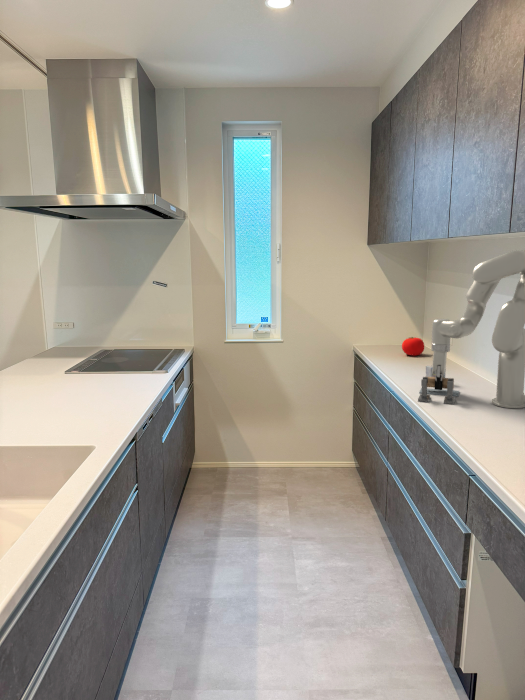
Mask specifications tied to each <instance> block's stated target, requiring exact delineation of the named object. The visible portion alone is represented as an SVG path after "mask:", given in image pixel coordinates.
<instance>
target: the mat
mask: <svg viewBox="0 0 525 700" xmlns="http://www.w3.org/2000/svg"><path fill="white" fill-rule="evenodd" d="M418 394H419V395H420V394H422V387H420V390H419V391H418ZM427 395H437V396H447V389H444V388H442V390H435V388H430V387H427ZM459 395H460V390H454V389H453V397H459Z"/></svg>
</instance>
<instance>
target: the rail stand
mask: <svg viewBox="0 0 525 700" xmlns="http://www.w3.org/2000/svg"><path fill="white" fill-rule="evenodd" d="M447 378H448V381H447V389H446V390H447V396H446V395H444V399H443V404H444V405H445V404H446V405H455V403H456V396H453V390H454V387H453V379H449V378H450V377H447ZM420 381H421V388H422V394H420V393H419V396H418V398H417V402H420V403H421V402H422V403H429V401H430V399H431V394H427V388H428V387H427V384H428V377H426V376H422V379H421V380H420Z"/></svg>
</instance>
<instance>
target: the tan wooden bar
mask: <svg viewBox="0 0 525 700" xmlns="http://www.w3.org/2000/svg"><path fill="white" fill-rule="evenodd" d="M448 378H449V379H453V388H454V386H455V385H454V383H455V379H454V378H451V377H445V378H442V381H443V387H442V389H445V390H447V381H448ZM427 388H432V389H435V377H428V384H427Z"/></svg>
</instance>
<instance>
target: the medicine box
mask: <svg viewBox="0 0 525 700" xmlns="http://www.w3.org/2000/svg"><path fill="white" fill-rule="evenodd" d="M432 367H433V365H427V366H425V377H436V372H435V373H434V374H432ZM446 369H447V368H445V372H444V374H443V378H446V371H447V370H446Z"/></svg>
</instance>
